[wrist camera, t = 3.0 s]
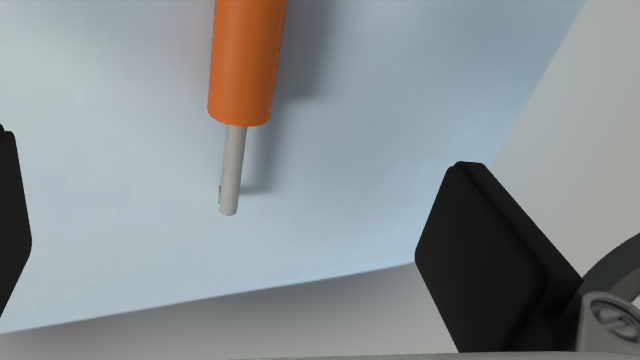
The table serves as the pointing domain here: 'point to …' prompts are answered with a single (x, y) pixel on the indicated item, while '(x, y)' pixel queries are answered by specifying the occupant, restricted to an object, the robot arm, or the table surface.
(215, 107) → the screwdriver
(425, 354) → the robot arm
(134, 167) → the table surface
